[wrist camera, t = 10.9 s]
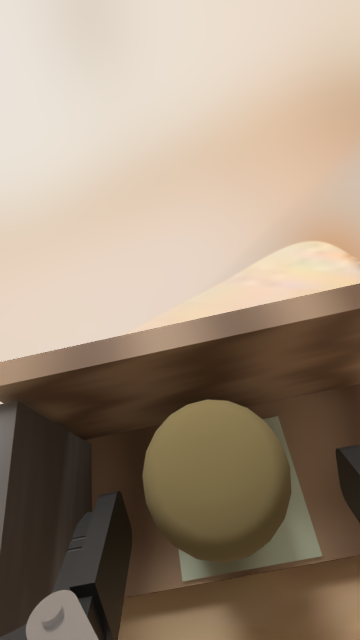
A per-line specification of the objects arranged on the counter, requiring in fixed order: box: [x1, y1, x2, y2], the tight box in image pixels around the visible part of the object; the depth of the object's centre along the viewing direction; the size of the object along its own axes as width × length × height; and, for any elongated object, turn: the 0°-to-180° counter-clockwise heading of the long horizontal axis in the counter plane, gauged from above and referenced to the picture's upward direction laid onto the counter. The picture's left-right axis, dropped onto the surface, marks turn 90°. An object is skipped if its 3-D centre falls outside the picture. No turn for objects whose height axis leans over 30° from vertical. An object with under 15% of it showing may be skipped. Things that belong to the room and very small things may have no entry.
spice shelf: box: [0, 284, 360, 637], centre depth 17 cm, size 20×10×12 cm, turn 99°
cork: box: [142, 400, 291, 563], centre depth 15 cm, size 6×6×11 cm
